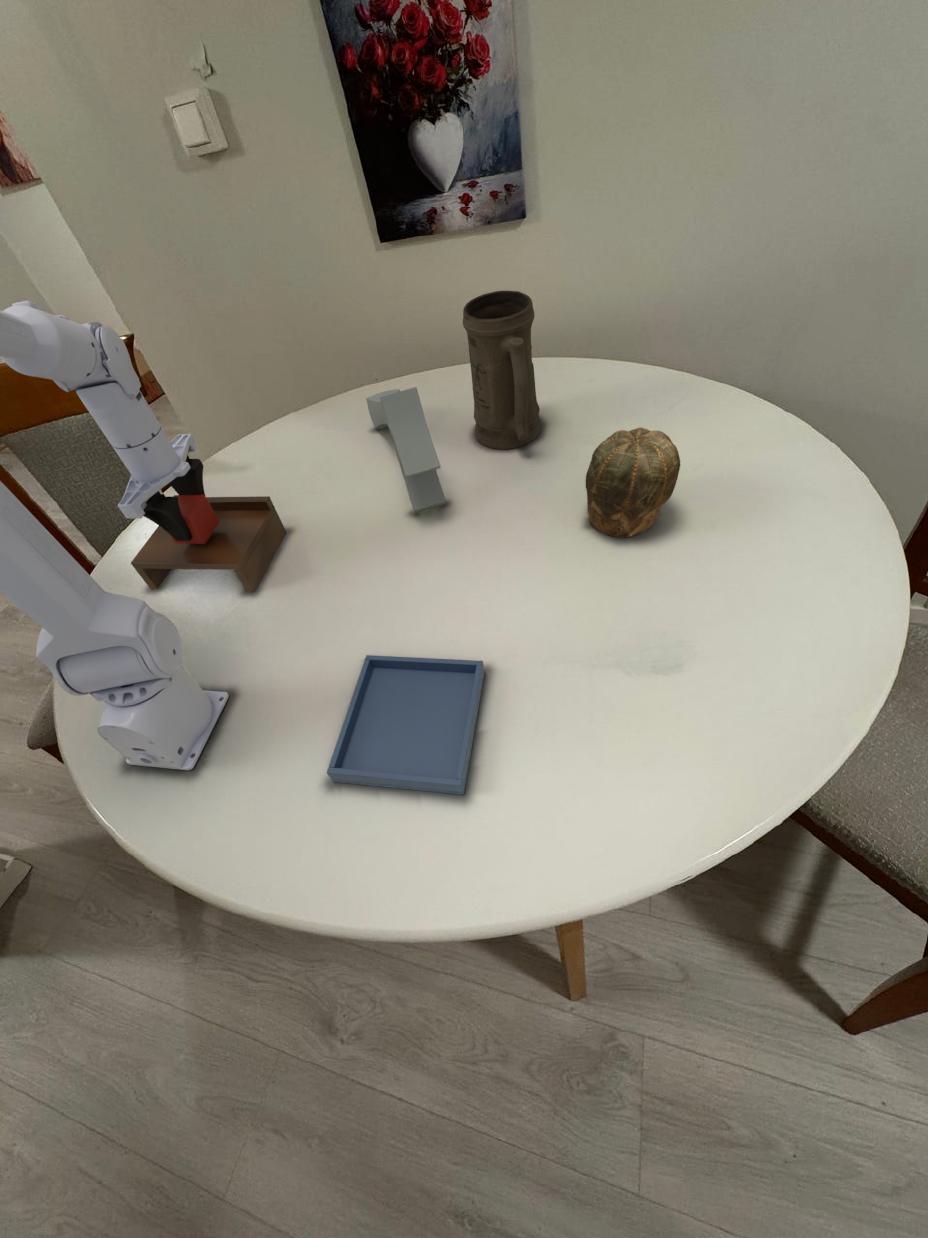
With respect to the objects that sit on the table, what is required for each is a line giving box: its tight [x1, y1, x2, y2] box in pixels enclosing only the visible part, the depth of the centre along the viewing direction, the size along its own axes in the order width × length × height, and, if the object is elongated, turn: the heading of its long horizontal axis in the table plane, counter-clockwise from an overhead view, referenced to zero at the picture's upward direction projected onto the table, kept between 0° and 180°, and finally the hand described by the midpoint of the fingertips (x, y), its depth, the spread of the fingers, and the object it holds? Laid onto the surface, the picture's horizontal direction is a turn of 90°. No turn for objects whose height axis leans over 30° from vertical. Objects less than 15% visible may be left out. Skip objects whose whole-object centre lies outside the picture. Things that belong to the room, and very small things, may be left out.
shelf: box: [130, 495, 287, 593], centre depth 80 cm, size 12×16×6 cm
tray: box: [326, 654, 486, 796], centre depth 60 cm, size 14×13×2 cm
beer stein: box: [462, 290, 542, 450], centre depth 86 cm, size 15×11×20 cm
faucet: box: [365, 386, 447, 515], centre depth 88 cm, size 6×17×30 cm
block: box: [169, 494, 220, 544], centre depth 76 cm, size 4×4×4 cm
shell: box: [585, 427, 681, 539], centre depth 72 cm, size 11×11×12 cm
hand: (193, 526), depth 77 cm, fingers closed on block, 4 cm apart
